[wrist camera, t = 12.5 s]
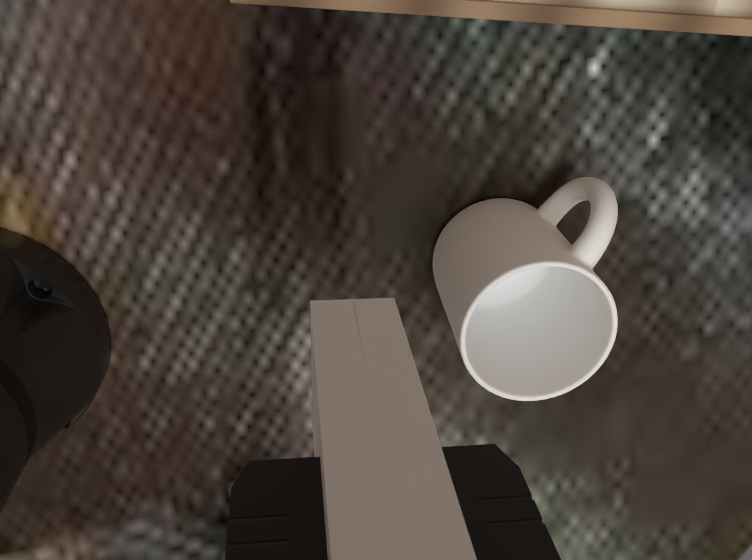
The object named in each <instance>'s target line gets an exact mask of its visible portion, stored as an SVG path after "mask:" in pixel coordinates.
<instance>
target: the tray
mask: <svg viewBox="0 0 752 560" xmlns="http://www.w3.org/2000/svg"><path fill="white" fill-rule="evenodd" d="M230 3H243V4H258V5H274V6H289V7H305V8H320V9H336V10H351V11H367V12H382V13H398V14H414V15H429V16H445V17H460V18H476V19H491V20H507V21H522V22H538V23H553V24H569V25H584V26H600V27H616V28H631V29H647V30H662V31H678V32H693V33H709V34H724V35H740V36H752V0H230Z"/></svg>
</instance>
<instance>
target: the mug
mask: <svg viewBox="0 0 752 560" xmlns="http://www.w3.org/2000/svg"><path fill="white" fill-rule="evenodd" d="M584 200H588V201H589V202H590V205H591V212H590V217H589V220H588V223H587V225H586V227H585V229H584V230H583V232H582V233H581V235H580V236H579V238H578V239H577V240H576V242H575V243H574V244H573V245H571V244H570V243H569V242H568V241H567V240H566V238H565V237H564V236H563V235H562V234H561V233H560V232H559V230H558V229H557V228H556V225H557V224H558V223H559V221H560V220H561V219H562V218H563V216H564V215H565V214H566V213H567V212H568V211H569V210H570V209H571V208H572V207H573V206H575V205H576V204H577V203H579V202H581V201H584ZM617 216H618V205H617V201H616V197H615V194H614V192H613V190H612V189H611V188H610V187H609V185H608V184H607V183H606V182H604V181H602V180H600V179H598V178H594V177H581V178H577V179H574V180H572V181H570V182H568V183H567V184H565V185H563V186H562V187H560V188H559V189H558V190H557V191H555V192H554V193H553V194H552V195H551V196H550V197H549V198H548V199H547V200H546V201H545V202H544V203H543V204H542V205H541V206H540V207H539V209H536V208H535V207H533V206H531V205H529V204H527V203H524V202H522V201H518V200H514V199H508V198H496V199H489V200H485V201H481V202H478V203H475V204H473V205H471V206H469V207H467V208H465V209H464V210H462V211H461V212H459V213H458V214H457V215H456V216H455V217H453V218H452V219H451V220H450V221H449V223H448V224H447V225H446V226H445V228H444V229H443V230H442V232H441V234H440V236H439V238H438V240H437V242H436V245H435V248H434V253H433V274H434V279H435V284H436V287H437V289H438V292H439V295H440V298H441V300H442V303H443V306H444V309H445V311H446V314H447V317H448V320H449V323H450V325H451V328H452V331H453V334H454V336H455V339H456V342H457V345H458V347H459V350H460V353H461V356H462V358H463V361H464V364H465V366H466V368H467V370H468V371H469V373H470V374H471V375H472V377H473V378H474V379H475V380H476V381H477V382H478V383H479V384H480V385H481V386H483V387H484V388H485V389H487V390H488V391H490V392H492V393H494V394H496V395H499V396H501V397H504V398H508V399H512V400H520V401H536V400H544V399H548V398H552V397H556V396H558V395H561V394H564V393H566V392H568V391H570V390H572V389H574V388H576V387H577V386H579V385H581V384H582V383H583V382H585V381H586V380H587V379H589V378H590V377H591V376H592V375H593V374H594V373H595V372H596V371H597V370H598V369H599V367H600V366H601V365H602V364H603V362H604V361H605V359H606V358H607V356H608V355H609V353H610V351H611V349H612V346H613V344H614V341H615V337H616V333H617V323H618V319H617V309H616V305H615V302H614V299H613V297H612V295H611V293H610V291H609V290H608V288H607V287H606V285H605V284H604V283H603V282H602V281H601V280H600V278H599V277H598V276H597V275H596V274H595V273H594V271H593V267H594V266H595V265H596V263H597V262H598V261H599V259H600V258H601V256H602V255H603V253H604V251H605V250H606V248H607V246H608V244H609V242H610V240H611V238H612V235H613V233H614V230H615V226H616V223H617Z"/></svg>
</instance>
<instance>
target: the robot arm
mask: <svg viewBox="0 0 752 560" xmlns="http://www.w3.org/2000/svg"><path fill="white" fill-rule="evenodd" d="M310 316H311V369H312V422H313V441H314V456H315V457H308V458H291V459H274V460H258V461H249V462H248V463H247V465H246V466H245V468H244V469H243V471H242V472H241V474H240V475H239V477H238V478H237V480H236V481H235V483H234V485H233V486H232V488H231V499H230V510H229V524H228V532H227V543H226V544H227V548H226V554H225V560H561V559H560V556H559V554H558V552H557V550H556V548H555V545H554V543H553V541H552V539H551V537H550V534H549V532H548V530H547V528H546V525H545V524H543V523H542V517H541V514H540V512H539V510H538V508H537V506H536V503H535V501H534V500H532V497H531V492H530V490H529V488H528V486H527V483H526V481H525V479H524V477H523V475H522V472H521V470H520V468H519V466H518V465H516V464H515V463H514V462H513V461H512V460H511V459H510V458H509V457H508V456H507V455H506V454H505V453H504V452H502V451H501V450H500V449H499V448H498V447H497V446H496V445H495V444H486V445H470V446H453V447H441V445H440V441H439V438H438V435H437V432H436V429H435V426H434V422H433V419H432V416H431V413H430V410H429V407H428V403H427V400H426V397H425V394H424V391H423V388H422V384H421V381H420V378H419V375H418V372H417V369H416V365H415V362H414V359H413V356H412V353H411V350H410V347H409V343H408V340H407V337H406V334H405V331H404V328H403V324H402V321H401V318H400V315H399V312H398V309H397V305H396V302H395V299H394V298H375V299H346V300H316V301H310ZM110 349H111V343H110V333H109V327H108V323H107V320H106V317H105V314H104V311H103V309H102V307H101V305H100V303H99V301H98V299H97V297H96V296H95V294H94V292H93V291H92V289H91V288H90V287H89V285H88V284H87V283H86V281H85V280H84V279H83V278H82V277H81V276H80V275H79V273H78V272H77V271H76V270H75V269H74V268H73V267H71V266H70V265H69V264H68V263H67V262H66V261H64V260H63V259H62V258H61V257H59V256H58V255H57V254H55V253H54V252H52V251H51V250H49V249H47V248H46V247H44V246H42V245H41V244H39V243H37V242H35V241H33V240H31V239H29V238H26V237H24V236H22V235H19V234H16V233H13V232H10V231H7V230H4V229H0V512H1V511H2V509H3V507H4V505H5V503H6V501H7V499H8V497H9V495H10V493H11V491H12V489H13V487H14V486H15V484H16V482H17V480H18V478H19V476H20V474H21V472H22V470H23V468H24V467H25V465H26V463H27V461H28V459H29V458H30V457H31V456H32V455H33V454H34V453H36V452H37V451H38V450H39V449H40V448H41V447H42V446H43V445H45V444H46V443H47V442H48V441H49V440H51V439H53V438H55V437H56V436H58V435H60V434H61V433H63V432H64V431H65V430H67V429H68V428H69V427H71V426H72V425H73V424H74V423H75V422H76V421H77V420H78V419H79V418H80V417H81V416H82V415H83V413H84V412H85V411H86V410H87V408H88V407H89V406H90V404H91V403H92V401H93V399H94V397H95V395H96V393H97V391H98V389H99V387H100V385H101V383H102V381H103V379H104V376H105V374H106V371H107V368H108V364H109V359H110Z"/></svg>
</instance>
